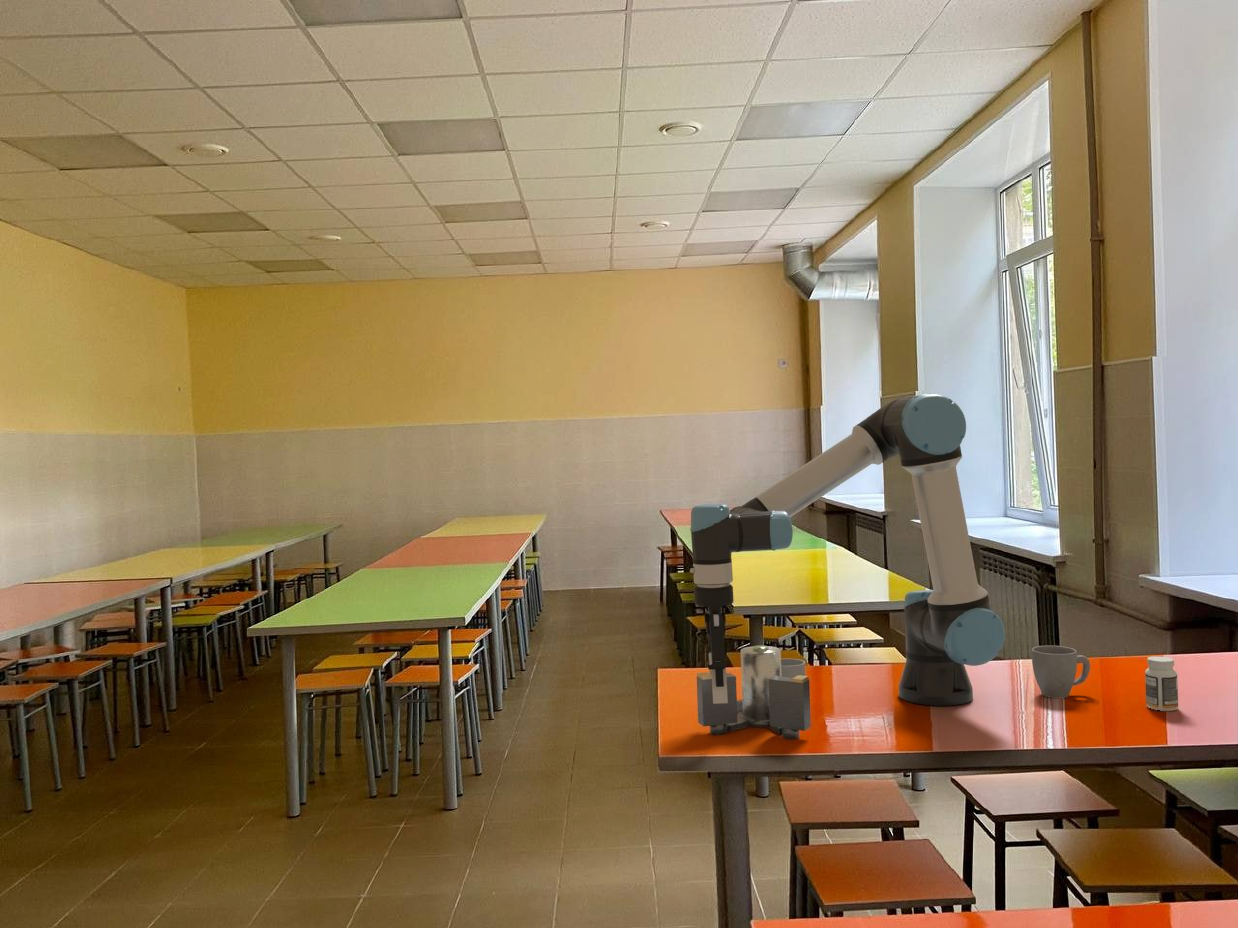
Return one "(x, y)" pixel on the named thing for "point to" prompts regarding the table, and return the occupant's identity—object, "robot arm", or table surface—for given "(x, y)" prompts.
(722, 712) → the tan-tipped grey block
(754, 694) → the stand
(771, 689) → the grey rectangular block
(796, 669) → the cup
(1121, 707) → the table surface
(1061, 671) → the mug
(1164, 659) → the pill bottle
